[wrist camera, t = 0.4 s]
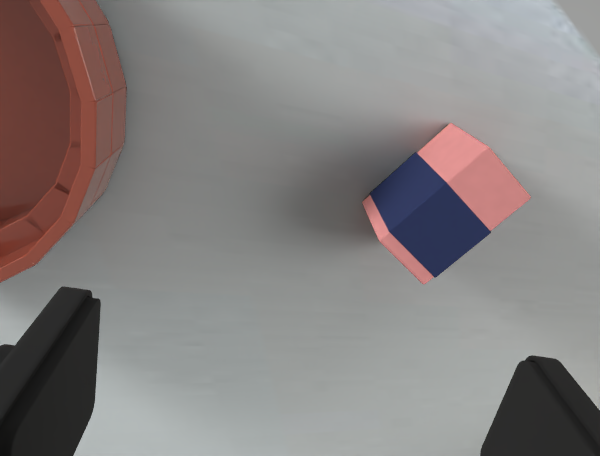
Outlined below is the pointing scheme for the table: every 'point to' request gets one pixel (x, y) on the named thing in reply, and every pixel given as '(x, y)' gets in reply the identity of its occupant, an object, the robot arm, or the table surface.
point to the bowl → (54, 122)
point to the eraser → (442, 202)
